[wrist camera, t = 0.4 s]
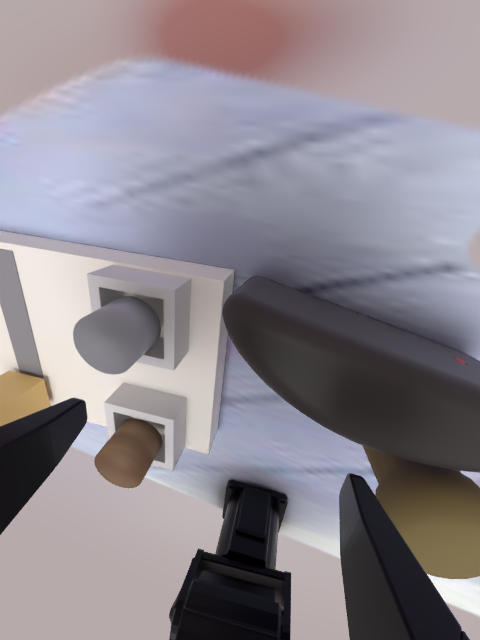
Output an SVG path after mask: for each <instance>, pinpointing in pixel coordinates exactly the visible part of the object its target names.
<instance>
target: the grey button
mask: <svg viewBox="0 0 480 640" xmlns="http://www.w3.org/2000/svg"><path fill="white" fill-rule="evenodd" d="M160 333H161V325H160V321H159V318H158V316H157V314H156V313H155V311H154V310H153V309H152V307H151V306H150V305H148V304H147V303H146V302H144V301H143V300H141V299H139V298H136V297H132V296H124V297H120V298H118V299H116V300H114V301H112V302H110V303H109V304H107V305H105V306H103V307H101V308H99V309H98V310H96V311H94V312H92V313H90V314H88V315H87V316H85V317H83V318H81V319H80V320H79V321H78V322H77V323H76V325H75V327H74V330H73V340H74V344H75V347H76V349H77V351H78V353H79V354H80V356H81V357H82V358H83V359H84V361H85V362H87V363H88V364H89V365H90V366H91V367H93V368H94V369H96V370H98V371H100V372H103V373H106V374H112V375H116V374H121V373H124V372H126V371H127V370H128V369H129V368H130V367H131V366H132V365H133V364H134V363H135V362H136V361H138V360H139V359H140V358H141V357H142V356H143V355H144V354H145V353H146V352H147V351H148V350H149V349H150V348H151V347H152V346H153V345H154V344H155V343H156V342H157V340H158V339H159V336H160Z"/></svg>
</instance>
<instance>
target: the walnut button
mask: <svg viewBox="0 0 480 640" xmlns="http://www.w3.org/2000/svg"><path fill="white" fill-rule="evenodd" d="M161 446H162V437H161V435H160V433H159V432H158V430H157V429H156V428H155V427H154V426H152V425H151V424H150V423H148V422H146V421H144V420H141V419H135V418H132V419H127V420H125V421H124V422H123V423H122V424H121V425H120V427H119V428H118V429H117V430H116V432H115V433H114V434H113V435H112V437H111V438H110V439H109V440H108V442H107V443H106V444H105V445H104V447H103V448H102V449H101V450H100V452H99V453H98V454H97V455H96V457H95V466H96V468H97V470H98V472H99V473H100V474H101V475H102V476H103V477H104V478H105V479H106V480H108V481H109V482H111V483H113V484H115V485H117V486H120V487H124V488H134V487H137V486H138V485H140V483H141V482H142V480H143V478H144V476H145V475H146V473H147V471H148V469H149V468H150V466H151V464H152V462H153V461H154V459H155V457H156V455H157V454H158V452H159V450H160V448H161Z"/></svg>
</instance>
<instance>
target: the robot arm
mask: <svg viewBox="0 0 480 640" xmlns="http://www.w3.org/2000/svg"><path fill="white" fill-rule="evenodd" d="M87 418H88V417H87V409H86V402H85V401H84V400H82V399H78V398H70V399H68V400H65V401H63V402H60V403H58V404H55V405H53V406H50V407H48V408H45V409H43V410H40V411H37V412H35V413H32V414H30V415H27V416H25V417H22V418H20V419H17V420H15V421H12V422H10V423H7V424H5V425H2V426H0V535H1V533H2V532H3V531H4V530H5V528H6V527H7V526H8V525H9V524H10V522H11V521H12V520H13V519H14V518H15V516H16V515H17V514H18V513H19V511H20V510H21V509H22V508H23V507H24V505H25V504H26V503H27V502H28V501H29V499H30V498H31V497H32V496H33V494H34V493H35V492H36V491H37V489H38V488H39V487H40V486H41V485H42V483H43V482H44V481H45V480H46V479H47V477H48V476H49V475H50V473H51V472H52V471H53V470H54V469H55V467H56V466H57V465H58V463H59V462H60V461H61V459H62V458H63V456H64V455H65V454H66V452H67V451H68V449H69V448H70V446H71V445H72V443H73V442H74V440H75V439H76V438H77V436H78V435H79V433H80V432H81V430H82V429H83V427H84V426H85V424H86V422H87ZM287 502H288V498H287V497H286V496H285V495H281V494H278V493H274V492H271V491H267V490H264V489H260V488H256V487H253V486H249V485H246V484H242V483H239V482H235V481H228V483H227V488H226V495H225V502H224V509H223V519H224V521H223V525H222V529H221V533H220V538H219V542H218V546H217V550H216V554H211V553H208V552H204V550H201V549H198V551H197V553H196V556H195V558H193V559H192V562H191V565H190V568H189V570H188V573H187V575H186V578H185V580H184V583H183V586H182V588H181V590H180V592H179V594H178V596H177V598H176V600H175V602H174V604H173V606H172V608H171V610H170V614H169V618H170V621H171V632H170V639H169V640H290V614H291V573H290V572H286V571H285V572H281V571H278V570H275V566H276V553H277V540H278V532H279V529H280V526H281V523H282V519H283V516H284V513H285V510H286V506H287ZM339 508H340V556H341V566H342V575H343V584H344V593H345V601H346V610H347V618H348V627H349V636H350V640H470V639H469V638H468V636H467V635H466V633H465V632H464V631H461V626H460V624H459V623H458V621H457V620H456V618H455V617H454V615H453V614H452V612H451V611H450V609H449V608H448V606H447V605H446V603H445V601H444V600H443V598H442V597H441V595H440V594H439V592H438V591H437V589H436V588H435V586H434V585H433V583H432V582H431V580H430V579H429V577H428V576H427V574H426V572H425V571H424V569H423V568H422V566H421V565H420V563H419V562H418V560H417V559H416V557H415V556H414V554H413V553H412V551H411V550H410V548H409V547H408V545H407V544H406V542H405V540H404V539H403V537H402V536H401V534H400V533H399V531H398V530H397V528H396V527H395V525H394V524H393V522H392V521H391V519H390V518H389V516H388V515H387V513H386V511H385V510H384V508H383V507H382V505H381V504H380V502H379V501H378V499H377V498H376V496H375V495H374V493H373V492H372V490H371V489H370V487H369V486H368V484H367V483H366V481H365V480H364V478H363V477H361V476H358V475H355V474H351V473H349V474H348V475H347V476H346V479H345V481H344V483H343V485H342V488H341V490H340V496H339Z"/></svg>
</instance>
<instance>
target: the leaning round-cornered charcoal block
mask: <svg viewBox="0 0 480 640" xmlns="http://www.w3.org/2000/svg"><path fill="white" fill-rule="evenodd" d="M222 315H223V320H224V323H225V326H226V329H227V332H228V334H229V336H230V338H231V340H232V342H233V344H234V345H235V347H236V348H237V350H238V351H239V353H240V354H241V356H242V357H243V358H244V359H245V361H246V362H247V363H248V364H249V366H250V367H251V368H252V369H253V370H254V371H255V373H256V374H257V375H258V376H259V377H260V378H261V379H262V380H263V381H264V382H265V383H266V384H267V385H268V386H269V387H270V388H272V389H273V390H274V391H275V392H276V393H277V394H278V395H280V396H281V397H282V398H283V399H284V400H285V401H287V402H288V403H289V404H291V405H292V406H293V407H295V408H296V409H298V410H299V411H300V412H302V413H303V414H305V415H306V416H308V417H309V418H311V419H312V420H314V421H316V422H317V423H319V424H321V425H322V426H324V427H326V428H328V429H330V430H331V431H333V432H335V433H337V434H339V435H341V436H343V437H345V438H347V439H350V440H352V441H354V442H356V443H358V444H361V445H363V446H366V447H368V448H371V449H373V450H376V451H379V452H382V453H385V454H388V455H391V456H394V457H398V458H401V459H405V460H408V461H412V462H416V463H421V464H425V465H429V466H434V467H440V468H446V469H452V470H459V471H467V472H478V473H480V361H478V360H477V359H475V358H473V357H471V356H469V355H467V354H464V353H462V352H460V351H457V350H455V349H452V348H450V347H447V346H444V345H442V344H439V343H436V342H434V341H431V340H428V339H426V338H423V337H420V336H418V335H415V334H412V333H410V332H407V331H404V330H402V329H399V328H396V327H394V326H391V325H388V324H386V323H383V322H380V321H378V320H375V319H373V318H370V317H367V316H365V315H362V314H359V313H357V312H354V311H351V310H349V309H346V308H343V307H341V306H338V305H335V304H333V303H330V302H327V301H325V300H322V299H319V298H317V297H314V296H311V295H309V294H306V293H303V292H301V291H298V290H295V289H293V288H290V287H287V286H285V285H282V284H279V283H277V282H274V281H271V280H268V279H265V278H261V277H252V278H250V279H248V280H247V281H246V282H245V283H244V284H243V285H241V286H240V287H239V288H238V289H237V290H236V291H235V292H234V293H233V294H231V295H230V296H229V297H228V298H227V299H226V301H225V303H224V305H223V310H222Z"/></svg>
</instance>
